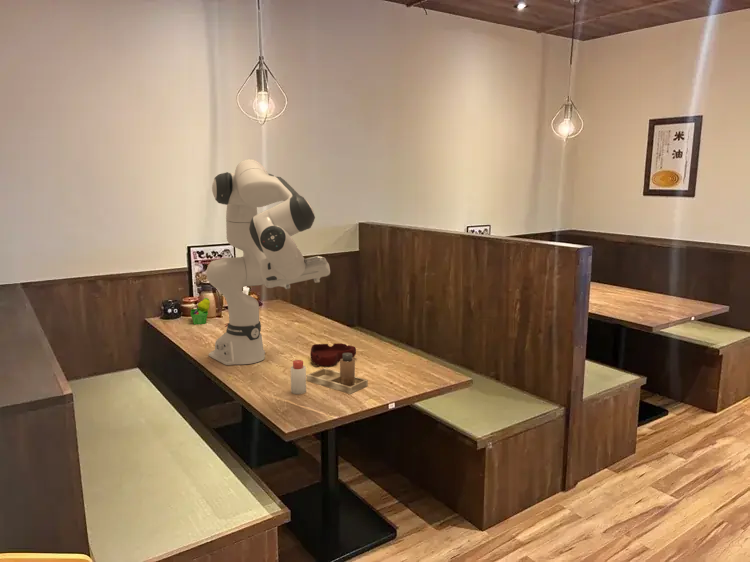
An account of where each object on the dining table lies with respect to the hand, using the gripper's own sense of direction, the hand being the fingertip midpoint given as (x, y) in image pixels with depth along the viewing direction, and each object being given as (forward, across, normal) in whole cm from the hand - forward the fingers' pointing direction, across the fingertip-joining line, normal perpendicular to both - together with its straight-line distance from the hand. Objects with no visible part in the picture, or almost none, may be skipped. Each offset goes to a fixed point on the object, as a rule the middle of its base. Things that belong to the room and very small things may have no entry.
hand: (302, 283), depth 180 cm
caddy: (+27, -2, +26) cm, 38 cm away
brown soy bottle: (+25, -6, +28) cm, 38 cm away
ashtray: (+48, +4, +10) cm, 49 cm away
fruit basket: (+80, +69, -33) cm, 111 cm away
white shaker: (+20, +10, +29) cm, 36 cm away
